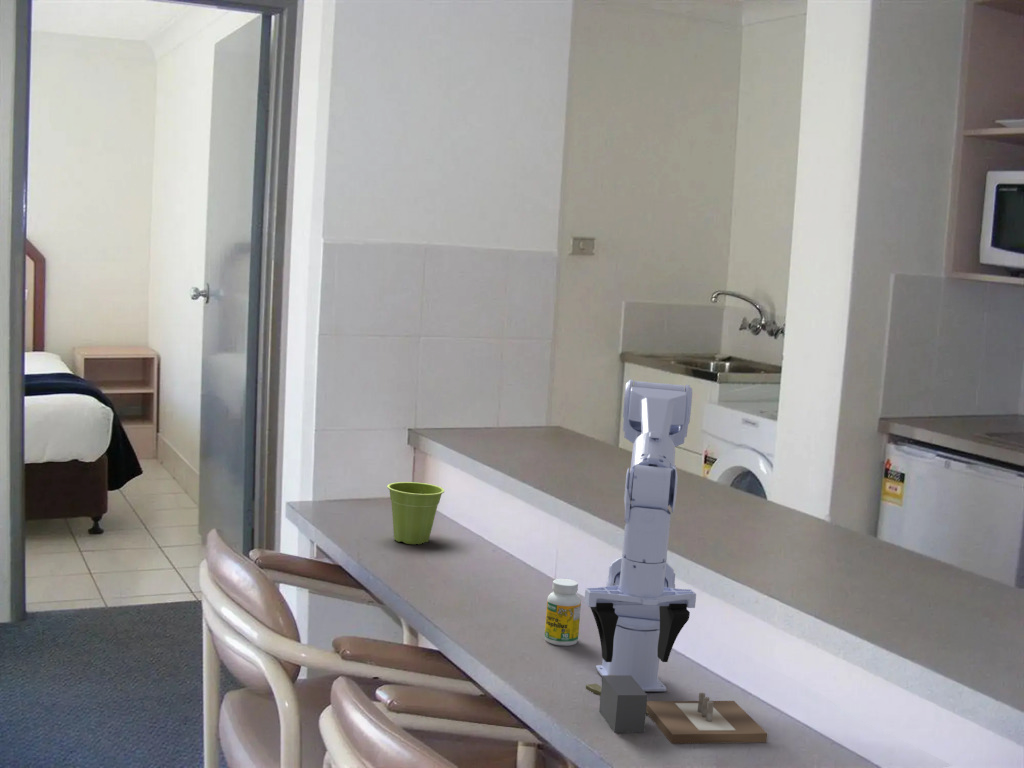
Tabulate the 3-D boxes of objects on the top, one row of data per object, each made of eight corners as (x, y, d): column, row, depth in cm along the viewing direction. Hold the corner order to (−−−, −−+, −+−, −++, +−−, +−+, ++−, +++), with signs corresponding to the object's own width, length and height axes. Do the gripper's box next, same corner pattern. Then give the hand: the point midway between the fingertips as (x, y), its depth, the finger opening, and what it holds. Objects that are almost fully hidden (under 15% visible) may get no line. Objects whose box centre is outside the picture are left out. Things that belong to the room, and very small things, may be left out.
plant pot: (404, 550, 232) (408, 495, 231) (372, 536, 242) (376, 483, 240) (451, 544, 240) (455, 491, 239) (419, 531, 249) (423, 480, 248)
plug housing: (595, 705, 158) (598, 670, 157) (623, 705, 159) (626, 670, 158) (614, 732, 149) (617, 695, 149) (644, 732, 150) (647, 695, 149)
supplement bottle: (583, 640, 185) (588, 582, 184) (568, 649, 180) (573, 589, 179) (553, 633, 188) (558, 575, 187) (537, 641, 183) (542, 582, 182)
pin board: (643, 709, 158) (646, 682, 157) (733, 709, 161) (735, 682, 160) (671, 743, 147) (674, 714, 147) (766, 742, 150) (769, 714, 150)
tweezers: (583, 690, 164) (584, 684, 164) (594, 688, 165) (594, 682, 165) (647, 721, 155) (648, 715, 155) (657, 719, 156) (658, 712, 156)
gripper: (599, 565, 144) (590, 670, 145) (708, 567, 147) (698, 670, 149) (583, 550, 151) (574, 651, 152) (688, 552, 154) (678, 651, 156)
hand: (634, 659), depth 151 cm, fingers open, 7 cm apart
